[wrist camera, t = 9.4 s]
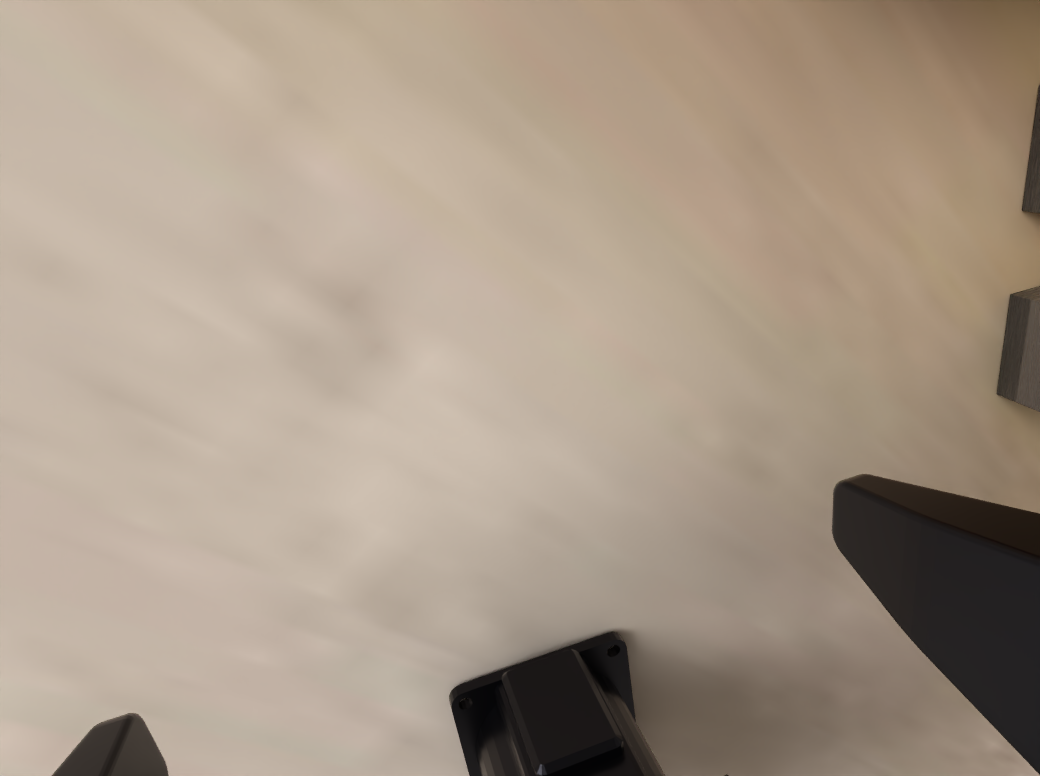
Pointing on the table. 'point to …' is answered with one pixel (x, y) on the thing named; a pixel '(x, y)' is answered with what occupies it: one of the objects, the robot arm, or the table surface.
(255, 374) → the table surface
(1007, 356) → the bracket
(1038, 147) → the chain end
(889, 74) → the table surface
